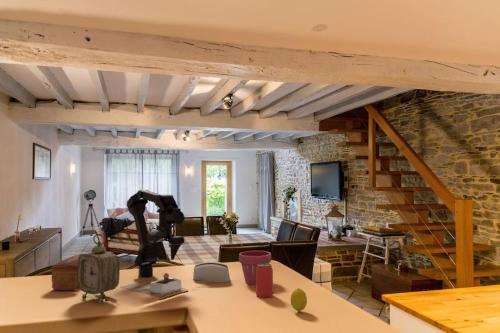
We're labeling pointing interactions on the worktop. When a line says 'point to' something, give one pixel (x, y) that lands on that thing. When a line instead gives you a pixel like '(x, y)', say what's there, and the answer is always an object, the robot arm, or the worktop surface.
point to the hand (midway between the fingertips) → (165, 258)
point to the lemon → (298, 299)
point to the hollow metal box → (165, 286)
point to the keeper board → (145, 288)
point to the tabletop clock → (98, 271)
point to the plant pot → (253, 263)
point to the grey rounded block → (211, 272)
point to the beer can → (264, 280)
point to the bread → (65, 274)
